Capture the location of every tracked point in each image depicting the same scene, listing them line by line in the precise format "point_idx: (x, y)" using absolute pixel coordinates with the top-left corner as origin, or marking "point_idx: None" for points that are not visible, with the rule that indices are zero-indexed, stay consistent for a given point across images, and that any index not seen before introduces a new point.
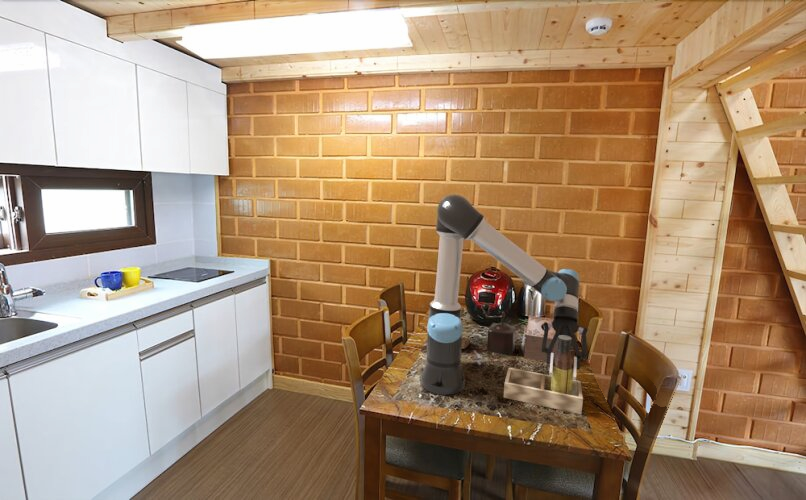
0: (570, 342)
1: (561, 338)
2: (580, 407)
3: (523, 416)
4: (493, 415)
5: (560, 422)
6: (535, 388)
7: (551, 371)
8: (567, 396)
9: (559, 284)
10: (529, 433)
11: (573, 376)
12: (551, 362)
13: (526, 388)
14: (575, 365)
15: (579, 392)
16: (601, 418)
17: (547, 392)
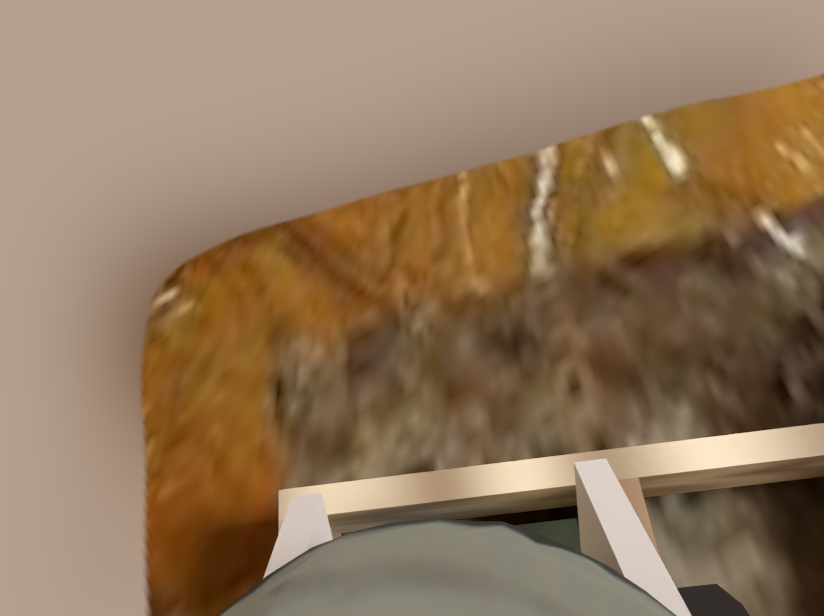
0: None
1: (590, 607)
2: None
3: (648, 287)
4: (803, 206)
5: (436, 342)
6: (682, 457)
7: (587, 467)
8: (401, 476)
9: None
10: (566, 168)
11: (322, 505)
12: (641, 560)
13: (755, 433)
14: None
15: None
16: (192, 532)
17: (567, 455)
